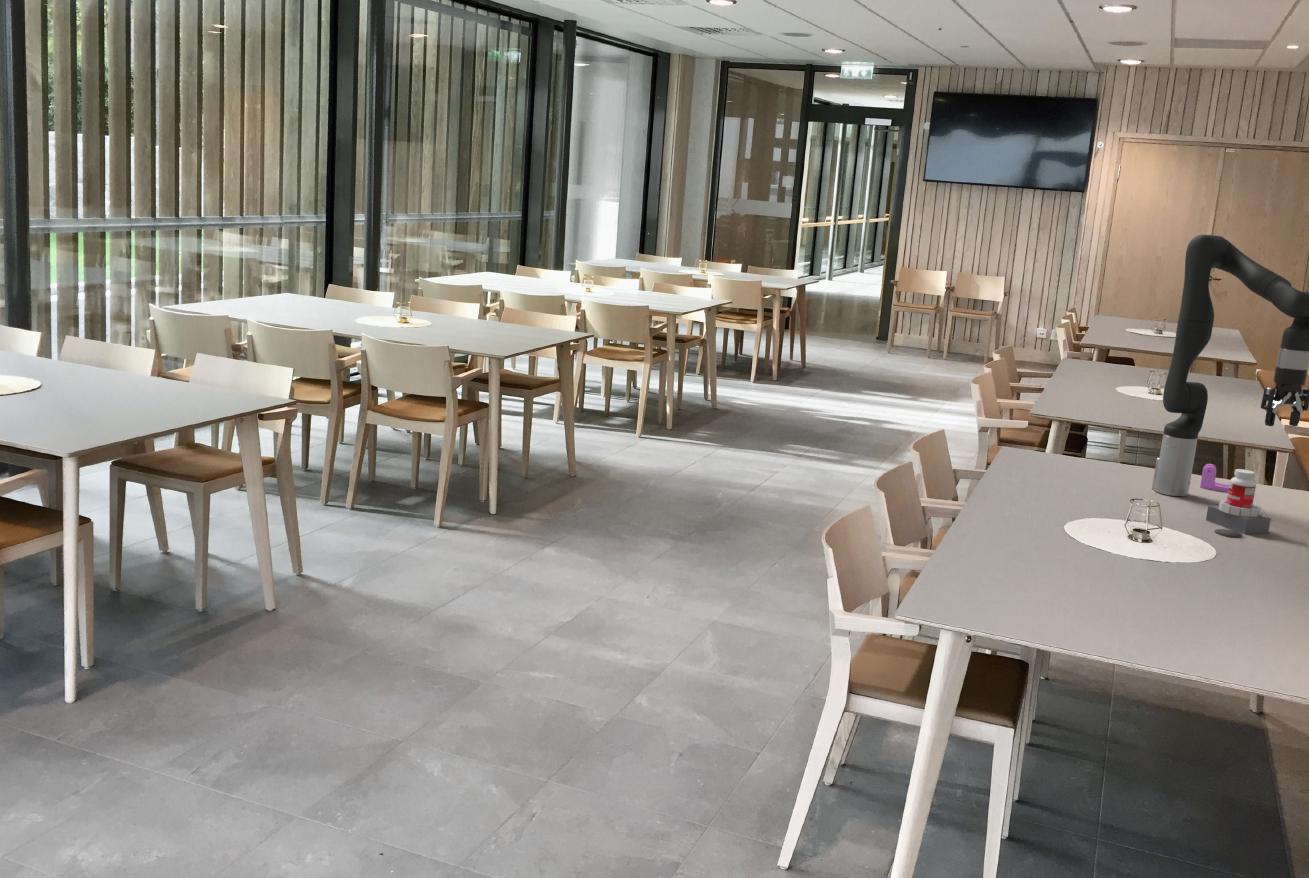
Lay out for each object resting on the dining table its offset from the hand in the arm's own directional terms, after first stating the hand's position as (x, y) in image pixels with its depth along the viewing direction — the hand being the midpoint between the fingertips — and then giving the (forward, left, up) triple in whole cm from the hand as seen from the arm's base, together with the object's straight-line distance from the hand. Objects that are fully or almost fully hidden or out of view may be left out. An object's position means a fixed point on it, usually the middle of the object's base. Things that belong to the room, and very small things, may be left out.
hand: (1281, 425), depth 305 cm
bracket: (-30, +17, -26) cm, 44 cm away
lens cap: (+12, -25, -26) cm, 38 cm away
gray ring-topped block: (+6, -16, -26) cm, 31 cm away
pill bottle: (+6, -16, -22) cm, 28 cm away
